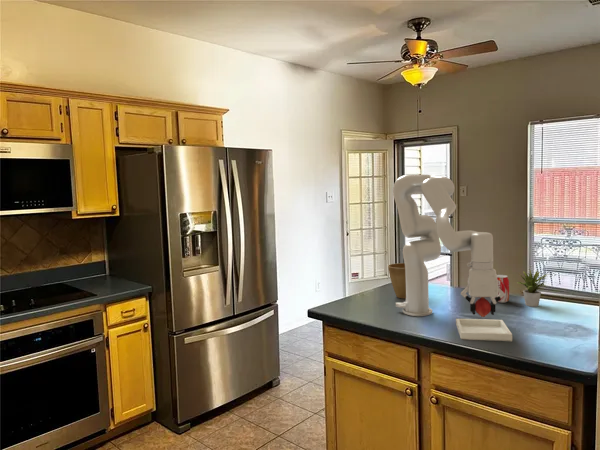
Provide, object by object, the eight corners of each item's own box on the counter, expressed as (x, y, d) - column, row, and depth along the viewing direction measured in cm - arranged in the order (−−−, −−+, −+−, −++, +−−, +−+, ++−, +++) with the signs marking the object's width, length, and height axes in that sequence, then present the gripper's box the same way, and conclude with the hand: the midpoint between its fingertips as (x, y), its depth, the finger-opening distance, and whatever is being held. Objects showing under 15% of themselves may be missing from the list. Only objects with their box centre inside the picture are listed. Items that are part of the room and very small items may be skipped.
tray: (461, 339, 161) (461, 332, 160) (456, 324, 177) (456, 318, 177) (512, 341, 157) (512, 334, 156) (502, 326, 173) (502, 319, 173)
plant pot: (423, 294, 225) (422, 263, 224) (413, 301, 213) (413, 268, 211) (394, 292, 233) (394, 261, 232) (384, 298, 221) (383, 266, 219)
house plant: (550, 311, 189) (550, 273, 187) (513, 308, 196) (514, 271, 194) (551, 303, 201) (552, 267, 199) (517, 300, 208) (517, 265, 206)
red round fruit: (471, 315, 169) (471, 294, 168) (486, 314, 169) (486, 293, 169) (479, 319, 163) (478, 298, 162) (494, 318, 163) (494, 297, 163)
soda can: (510, 303, 204) (511, 277, 203) (494, 303, 205) (494, 277, 204) (507, 299, 211) (507, 274, 210) (491, 299, 212) (491, 274, 211)
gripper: (458, 267, 163) (459, 316, 164) (509, 267, 159) (510, 317, 160) (456, 264, 170) (457, 310, 172) (505, 263, 166) (505, 311, 168)
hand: (482, 313), depth 166 cm, fingers closed on red round fruit, 5 cm apart
